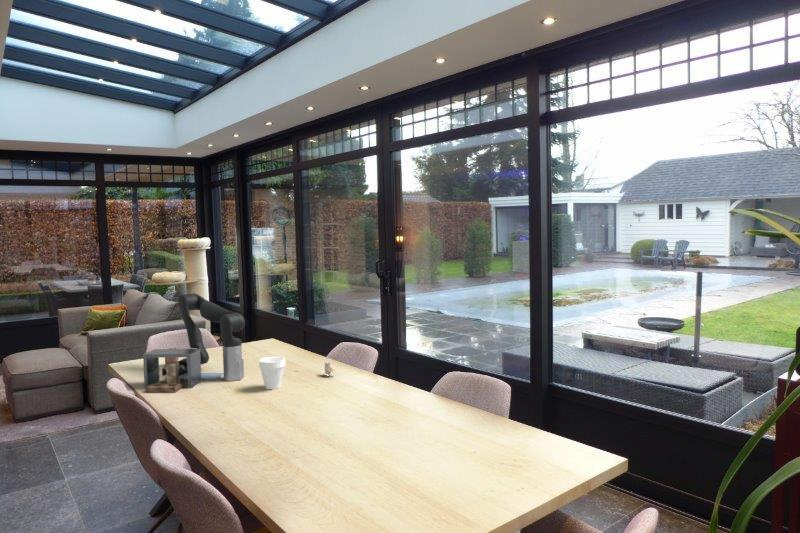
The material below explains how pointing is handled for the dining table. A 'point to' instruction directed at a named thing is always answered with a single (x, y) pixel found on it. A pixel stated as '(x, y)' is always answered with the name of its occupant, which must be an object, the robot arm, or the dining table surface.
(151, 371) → the tunnel
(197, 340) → the robot arm
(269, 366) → the cup
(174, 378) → the maple block
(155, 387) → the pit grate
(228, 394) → the dining table surface
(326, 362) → the architectural model
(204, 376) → the mat
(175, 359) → the lighter
